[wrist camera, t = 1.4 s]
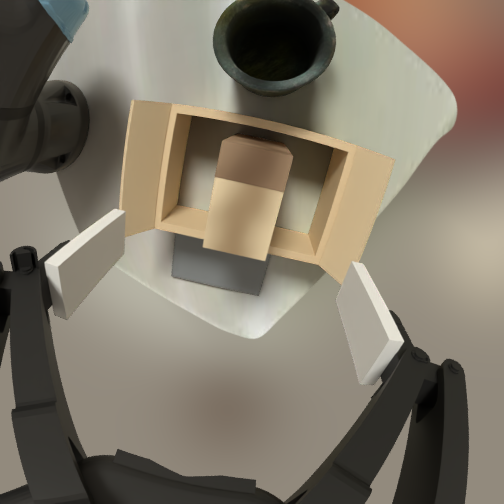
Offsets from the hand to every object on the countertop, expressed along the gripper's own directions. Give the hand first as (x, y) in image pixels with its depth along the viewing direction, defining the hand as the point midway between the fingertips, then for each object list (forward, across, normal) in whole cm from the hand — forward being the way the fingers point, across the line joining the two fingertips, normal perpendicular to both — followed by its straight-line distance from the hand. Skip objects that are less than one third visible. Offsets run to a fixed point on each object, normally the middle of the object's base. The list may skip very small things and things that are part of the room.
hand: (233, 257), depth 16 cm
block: (+24, 0, 0) cm, 24 cm away
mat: (+24, -2, -13) cm, 28 cm away
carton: (+24, 0, 0) cm, 24 cm away
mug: (+24, 0, +17) cm, 30 cm away
